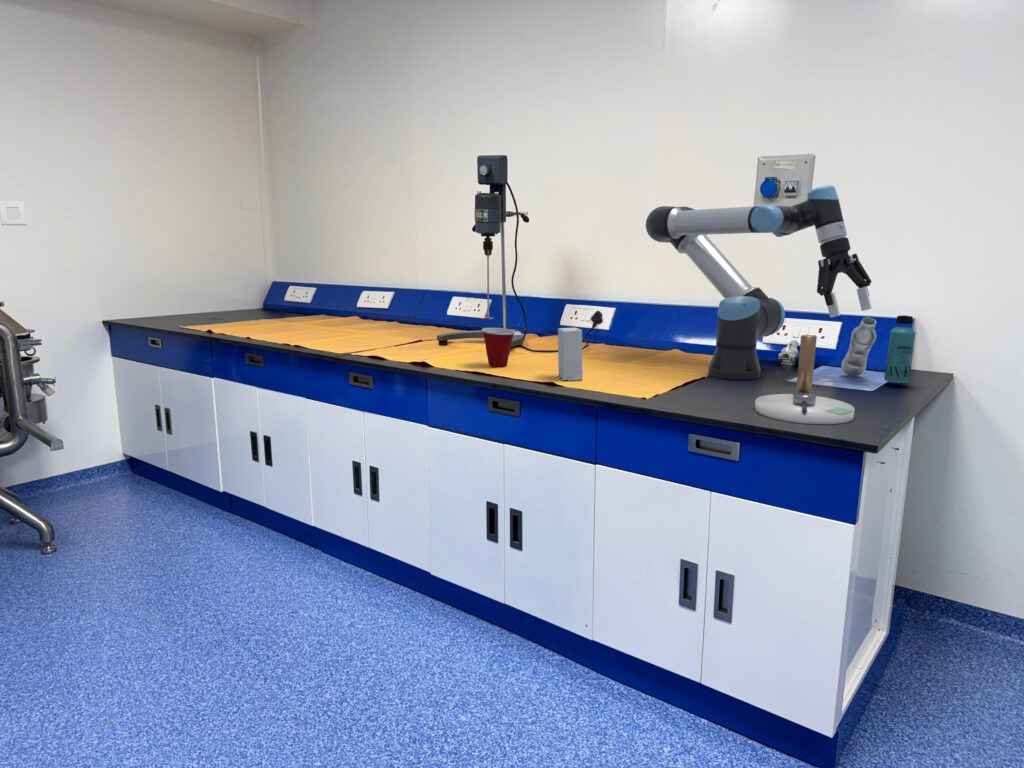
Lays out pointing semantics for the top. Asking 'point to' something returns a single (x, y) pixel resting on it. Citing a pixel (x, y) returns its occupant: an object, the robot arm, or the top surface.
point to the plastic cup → (498, 345)
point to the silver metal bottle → (859, 347)
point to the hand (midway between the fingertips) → (851, 313)
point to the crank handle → (805, 372)
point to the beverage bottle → (900, 352)
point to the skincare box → (570, 353)
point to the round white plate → (816, 414)
